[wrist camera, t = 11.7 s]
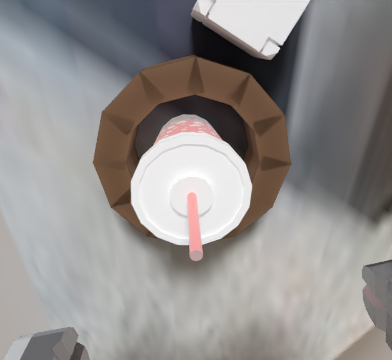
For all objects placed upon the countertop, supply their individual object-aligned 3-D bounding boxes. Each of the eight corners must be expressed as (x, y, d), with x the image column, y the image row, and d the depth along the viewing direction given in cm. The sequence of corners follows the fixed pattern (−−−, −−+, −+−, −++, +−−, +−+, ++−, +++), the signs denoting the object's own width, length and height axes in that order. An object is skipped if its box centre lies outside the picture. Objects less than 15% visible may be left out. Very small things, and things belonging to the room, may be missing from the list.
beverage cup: (156, 94, 23) (124, 156, 10) (237, 115, 23) (308, 197, 10) (140, 171, 25) (96, 306, 12) (215, 188, 26) (250, 331, 13)
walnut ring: (258, 37, 21) (274, 35, 18) (282, 196, 26) (298, 221, 23) (83, 83, 22) (64, 91, 18) (138, 230, 27) (131, 259, 23)
